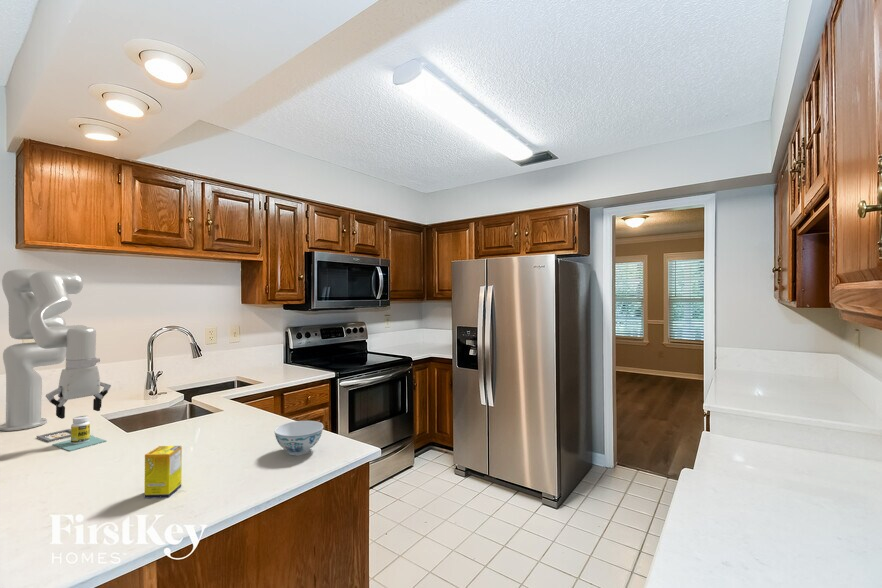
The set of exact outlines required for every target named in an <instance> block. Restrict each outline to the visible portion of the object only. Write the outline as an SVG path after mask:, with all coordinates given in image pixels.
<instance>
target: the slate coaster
mask: <svg viewBox="0 0 882 588" xmlns="http://www.w3.org/2000/svg"><path fill="white" fill-rule="evenodd" d="M62 432H63V433H62ZM66 432H67V433H70V434H67V433H66ZM58 433H59V434H60V436H58ZM54 434H55V435H54ZM49 435H50V436H51V438H50V437H49ZM63 435H64V436H63ZM45 436H46V437H45ZM55 436H56V437H55ZM38 438H39V439H38ZM68 438H71V428H66V429H63V430H58V431H53V432H50V433H46V434H41V435H36V439H38V440H42V441H43V440H44V442H47V443H51V442H55V440H56V441H59V439H60V440H63V439H68Z"/></svg>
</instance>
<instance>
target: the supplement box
mask: <svg viewBox="0 0 882 588" xmlns="http://www.w3.org/2000/svg"><path fill="white" fill-rule="evenodd" d="M182 451H183V449H182V445H158V446H157V447H156V448H154V449H152V450H150V451H149V452H147V453H145V454H144V499H159V498H160V499H161V498H170V496H172V495H173V494H175V492H177V491H178V490H179V489H180V488H181V487H182V457H183V455H182V453H183V452H182Z"/></svg>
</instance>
